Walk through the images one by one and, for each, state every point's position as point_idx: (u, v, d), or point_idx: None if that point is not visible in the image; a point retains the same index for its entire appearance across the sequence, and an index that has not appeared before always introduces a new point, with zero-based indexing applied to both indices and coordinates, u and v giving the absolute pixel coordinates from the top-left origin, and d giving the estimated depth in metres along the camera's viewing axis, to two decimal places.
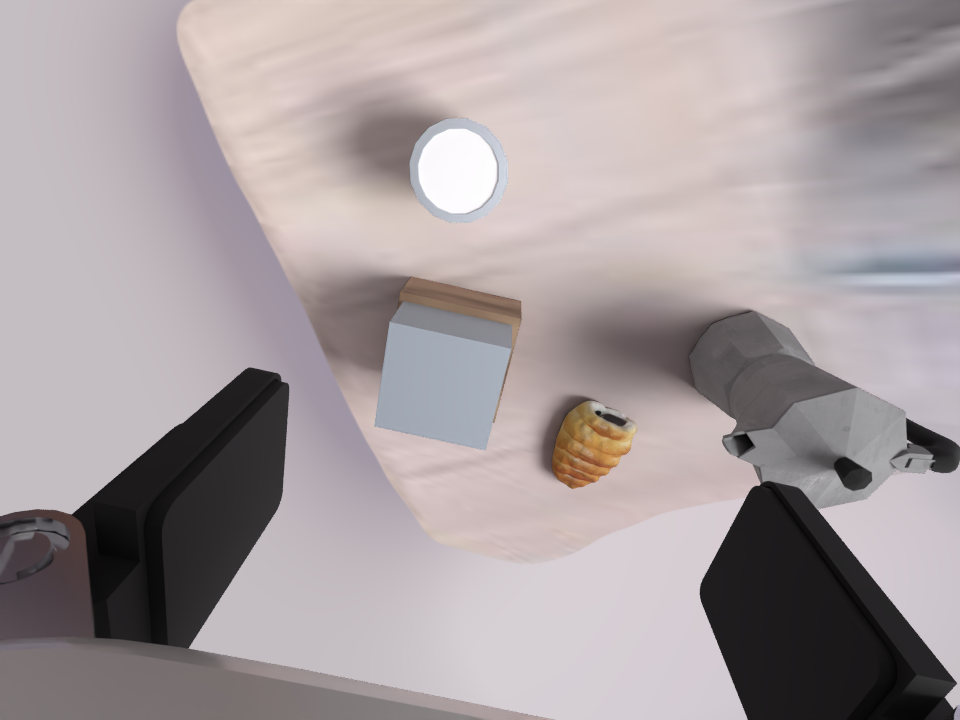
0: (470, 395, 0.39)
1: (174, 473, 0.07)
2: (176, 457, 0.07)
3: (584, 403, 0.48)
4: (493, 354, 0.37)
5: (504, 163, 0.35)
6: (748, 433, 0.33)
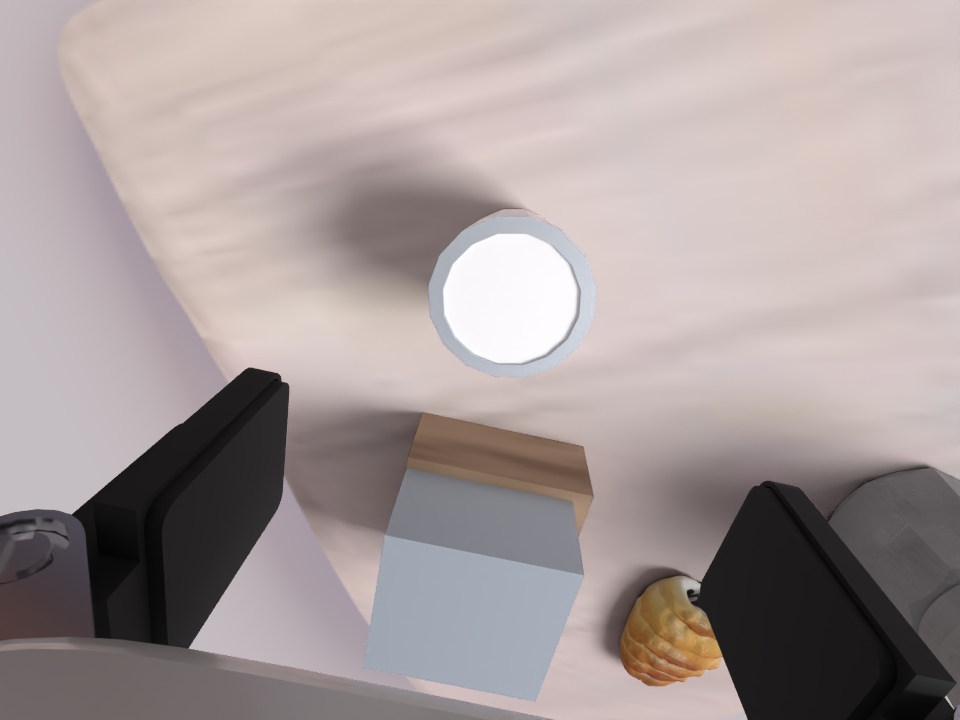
0: (514, 633, 0.25)
1: (174, 472, 0.07)
2: (176, 457, 0.07)
3: (672, 583, 0.34)
4: (554, 581, 0.23)
5: (590, 289, 0.20)
6: None
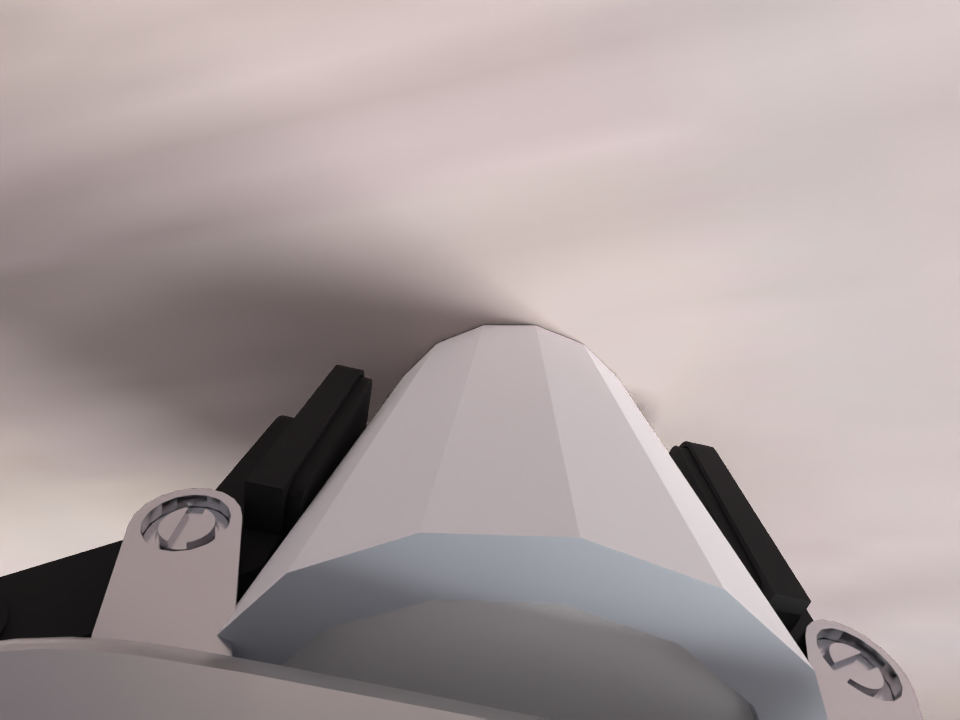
0: None
1: (304, 457, 0.07)
2: (301, 444, 0.08)
3: None
4: None
5: None
6: None
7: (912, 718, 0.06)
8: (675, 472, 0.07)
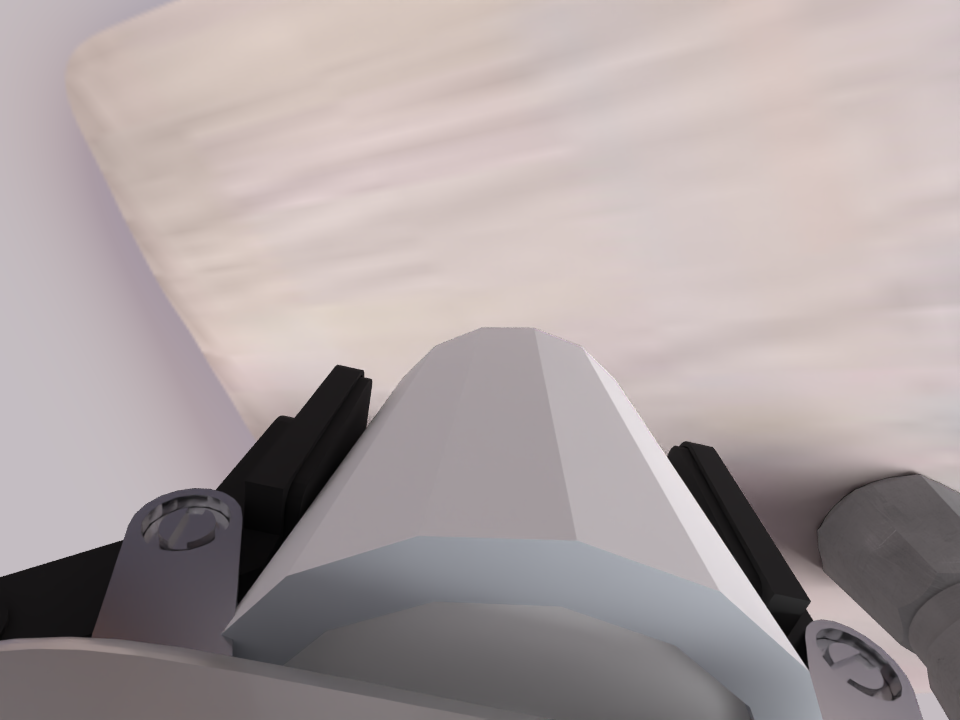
0: None
1: (304, 457, 0.07)
2: (301, 444, 0.08)
3: None
4: None
5: None
6: None
7: (911, 718, 0.06)
8: (672, 474, 0.07)
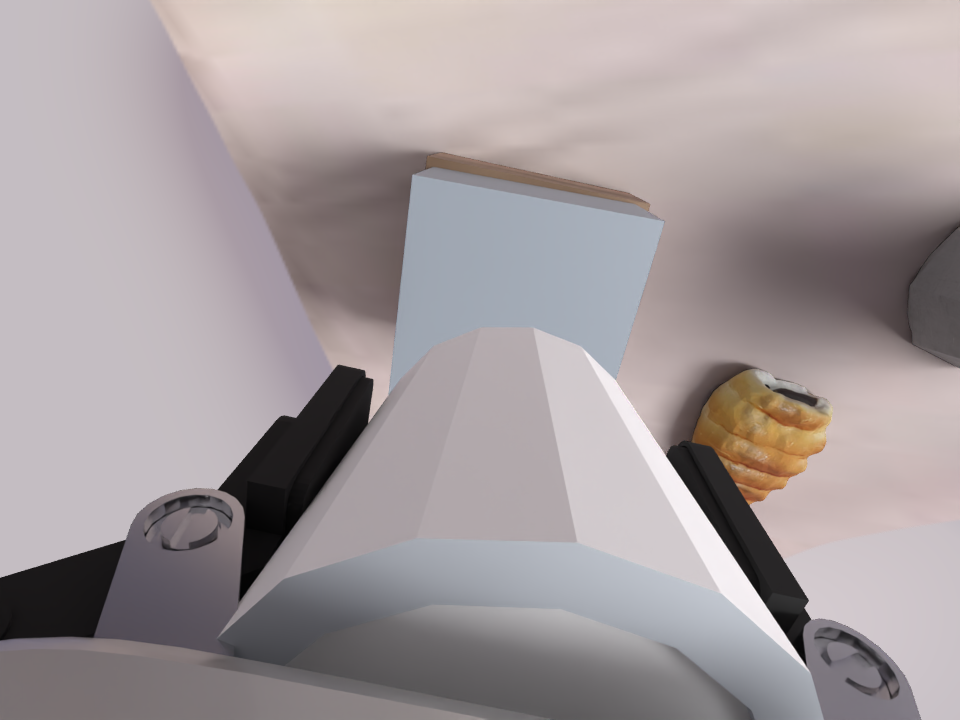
0: (574, 326, 0.20)
1: (306, 457, 0.07)
2: (303, 444, 0.08)
3: (744, 374, 0.29)
4: (626, 235, 0.18)
5: None
6: None
7: (909, 716, 0.06)
8: (672, 475, 0.07)
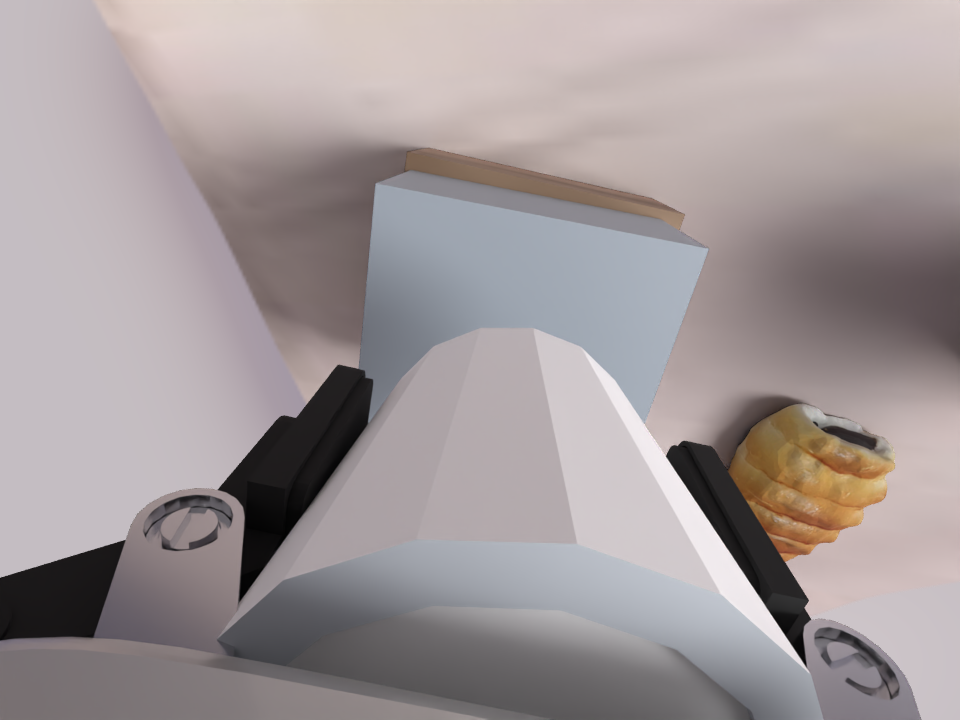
0: None
1: (306, 457, 0.07)
2: (303, 444, 0.08)
3: (789, 410, 0.25)
4: (657, 266, 0.14)
5: None
6: None
7: (909, 717, 0.06)
8: (672, 475, 0.07)
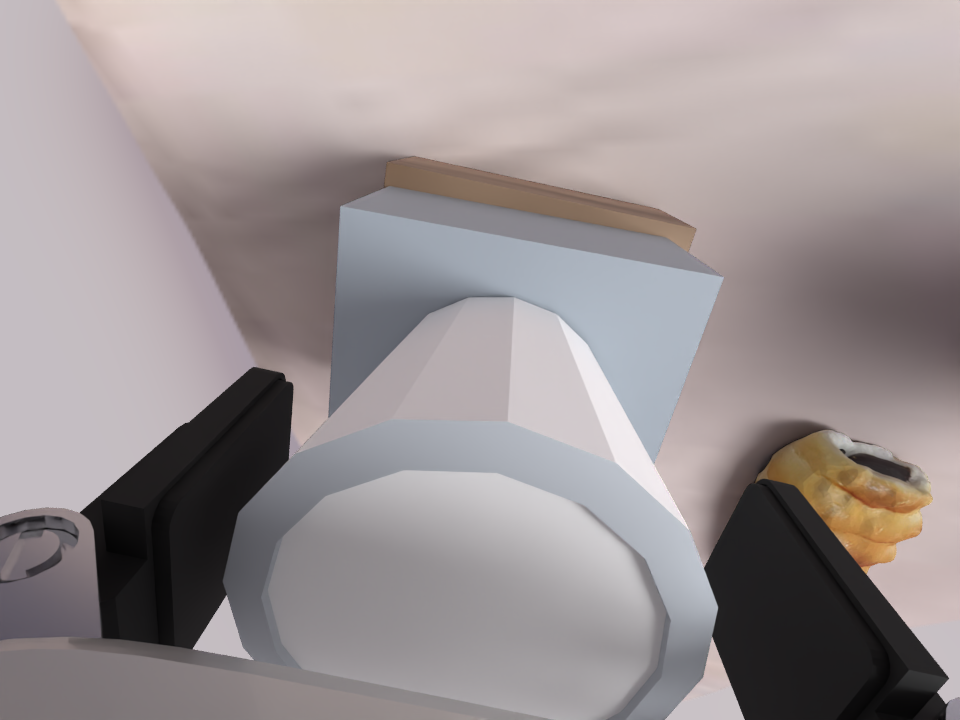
0: None
1: (181, 471, 0.07)
2: (183, 456, 0.07)
3: (815, 438, 0.23)
4: (664, 297, 0.12)
5: (700, 616, 0.07)
6: None
7: None
8: (615, 407, 0.09)
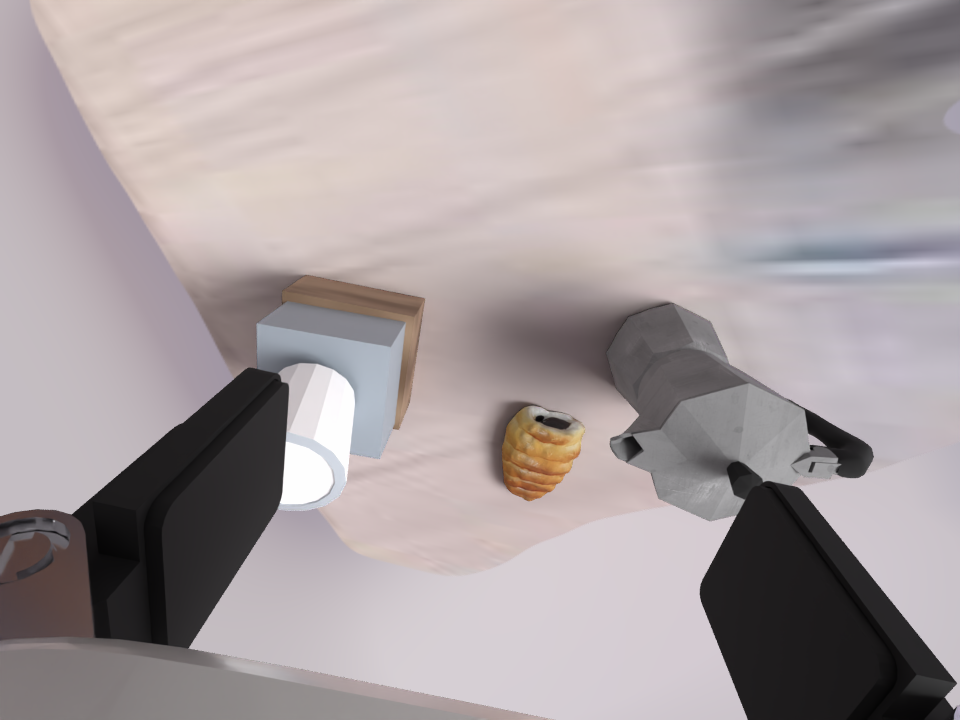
0: None
1: (175, 472, 0.07)
2: (176, 457, 0.07)
3: (522, 410, 0.45)
4: (372, 353, 0.34)
5: (341, 483, 0.30)
6: (634, 435, 0.29)
7: None
8: (345, 428, 0.31)
